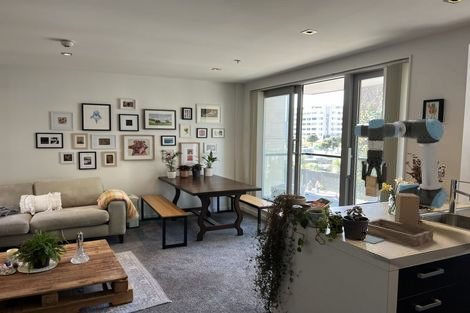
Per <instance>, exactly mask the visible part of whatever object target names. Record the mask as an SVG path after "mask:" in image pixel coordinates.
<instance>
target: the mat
mask: <svg viewBox="0 0 470 313" xmlns="http://www.w3.org/2000/svg"><path fill="white" fill-rule="evenodd" d="M366 235H367V236H366V239H364V240H363V241H362V242H366V243H369V244H371V245H375V244H378V243H381V242H385V238H381V237H378V236H374V235H371V234H366Z"/></svg>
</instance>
